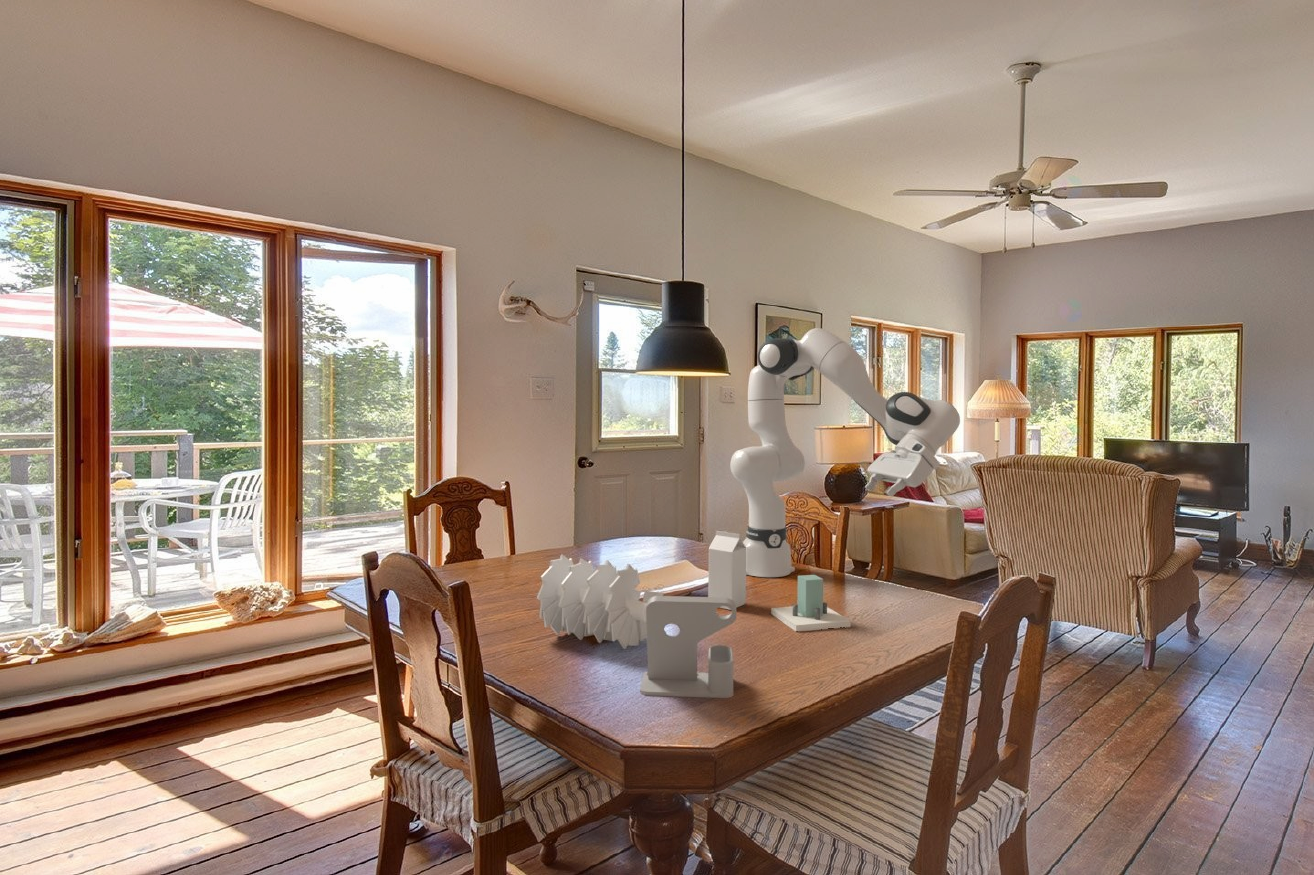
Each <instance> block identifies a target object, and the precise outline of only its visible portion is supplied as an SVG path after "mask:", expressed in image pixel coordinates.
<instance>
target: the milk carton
mask: <svg viewBox="0 0 1314 875" xmlns="http://www.w3.org/2000/svg"><path fill="white" fill-rule="evenodd" d="M740 537H741V534H740V533H734V532H727V531H720V530H719V531H718V530H716V531H715V536H714V538H713V540H712V542H711V543H710V545H709V547H708V575H707V576H708V586H707V587H708V590H707V591H708V593H707V594H708V595H707V597H721V598H729V599H731V600H733V601H734V602H735V604H736V609H737V608H739V607H741V606H744V605H745V604H746V603H747V601H746V600H747V599H746V598H747V591H746V590H747V584H746V583H747V575H746V546H745V545H744V543H743V541H742V539H741V538H740ZM718 609H724V610H730V611H731V609H730V608H728V607H726V606H721V607H719V608H718Z"/></svg>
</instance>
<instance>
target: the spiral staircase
mask: <svg viewBox="0 0 1314 875" xmlns="http://www.w3.org/2000/svg"><path fill="white" fill-rule="evenodd" d="M540 579H541V583H542V584H541V587H540V589H539V591H538V593H537V596H536V599H537V600H539V601H540V603H539V604H540V606H539V617H538V618H539V619H543V623H544V626H543V627H544V628H548V627H550V628H551V629H552V631H554V633H555V634H556V635H560V633H561V632H566V633H567V635H568V636H569V635H571V634H573V635H574V636H575V637H577V639H578V640H579V641H582V640H583V638H584V637H590V636H595V639H596V641H597V642H598V643H599V644H601V643H602V642H603V641H604V640H605V641H610V642H615V641H618V643H619V644H620V646H621V647H622V649H623V650H626V649H627V647H628V646H631V647H633V646H639V644H640V642H643V641H644V640H645V639H647V623H646V607H647V602H648V600H649V599H650V598H652V597H654V596H664V592H659V591H653V590H646V589H645V590H644V593H643V598H642V600H640V598H641V594H642V593H641V592H642V591H640V590H637V589H636V588H637V587H638V586H639V585H640V584H641V581H640V577H639V572H638V568H634V567H633V566H632V565H631V564H630V563H627V564H626V566H625V568H623V569H619V570H617V566H615V565H612V563H611V561H609V560H608V559H606V560H605V562H604V564H596V565H595V567H594V565H593V563H592V560H589V561H587V560H585V559H583V558H581V557H580V559H579V561H578V563H576V564H574V562H573V558H567V556H566V555H564V554H563V553H562V554H560V557H559V558H558V559H553V560H549V567H548V569H546V570H545V571H544V572H543V574H542V575H541V576H540Z"/></svg>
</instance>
